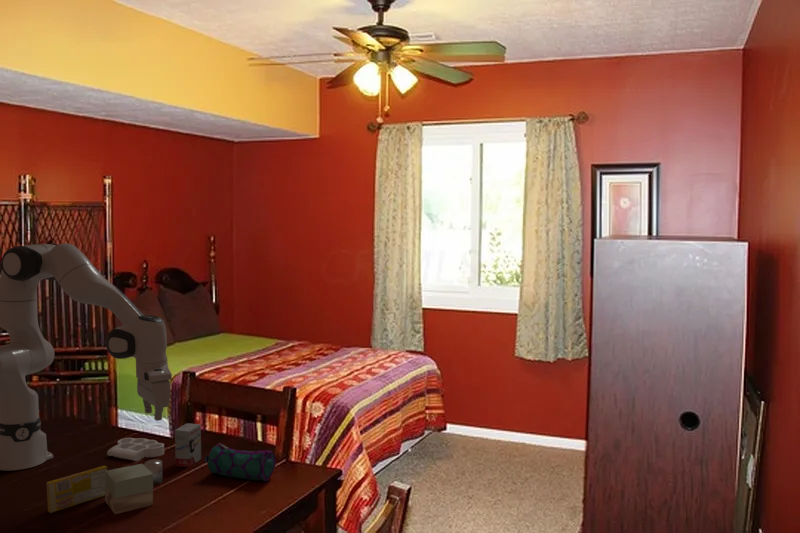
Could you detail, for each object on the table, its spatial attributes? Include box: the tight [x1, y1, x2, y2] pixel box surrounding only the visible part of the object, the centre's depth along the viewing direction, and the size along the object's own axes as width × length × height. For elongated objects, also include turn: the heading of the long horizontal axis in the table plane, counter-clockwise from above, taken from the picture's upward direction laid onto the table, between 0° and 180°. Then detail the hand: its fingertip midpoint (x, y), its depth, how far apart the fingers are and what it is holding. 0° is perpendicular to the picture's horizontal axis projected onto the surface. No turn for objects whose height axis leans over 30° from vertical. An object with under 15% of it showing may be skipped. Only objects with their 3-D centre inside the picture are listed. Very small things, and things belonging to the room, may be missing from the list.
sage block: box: [105, 463, 154, 499], centre depth 190 cm, size 10×10×4 cm
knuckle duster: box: [106, 437, 165, 462], centre depth 231 cm, size 3×18×15 cm
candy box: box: [46, 465, 108, 514], centre depth 190 cm, size 16×2×8 cm, turn 141°
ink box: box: [174, 422, 202, 468], centre depth 222 cm, size 9×5×12 cm, turn 168°
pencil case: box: [203, 442, 277, 482], centre depth 210 cm, size 21×9×10 cm, turn 70°
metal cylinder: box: [143, 458, 164, 486], centre depth 206 cm, size 5×5×6 cm
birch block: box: [104, 487, 154, 515], centre depth 190 cm, size 10×10×4 cm
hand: (153, 416), depth 205 cm, fingers open, 8 cm apart
